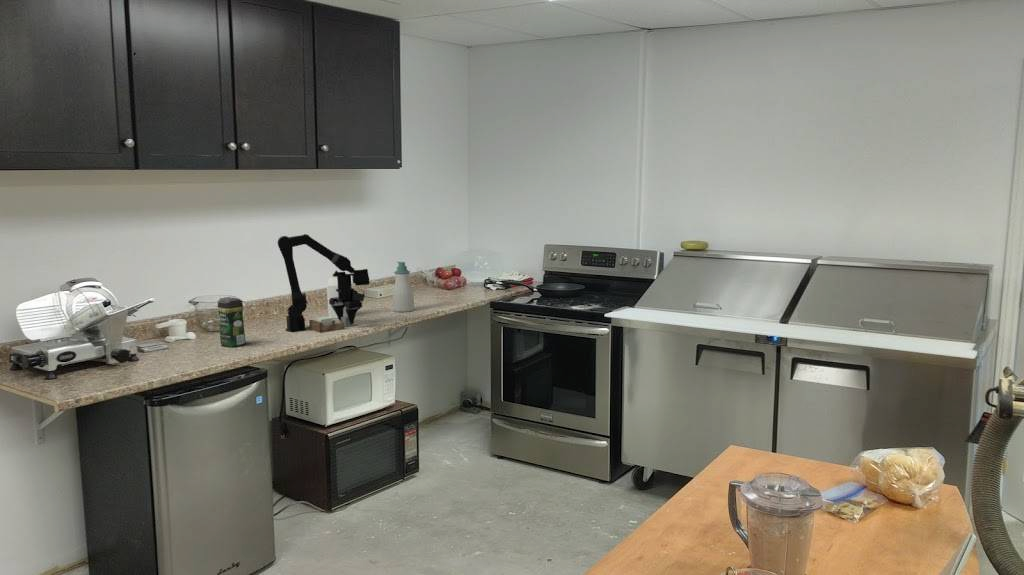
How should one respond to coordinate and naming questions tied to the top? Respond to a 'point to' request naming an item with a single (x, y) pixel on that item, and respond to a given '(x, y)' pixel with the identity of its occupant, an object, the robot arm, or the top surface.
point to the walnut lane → (325, 326)
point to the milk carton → (332, 293)
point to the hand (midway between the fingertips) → (346, 322)
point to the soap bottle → (402, 290)
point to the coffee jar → (231, 322)
